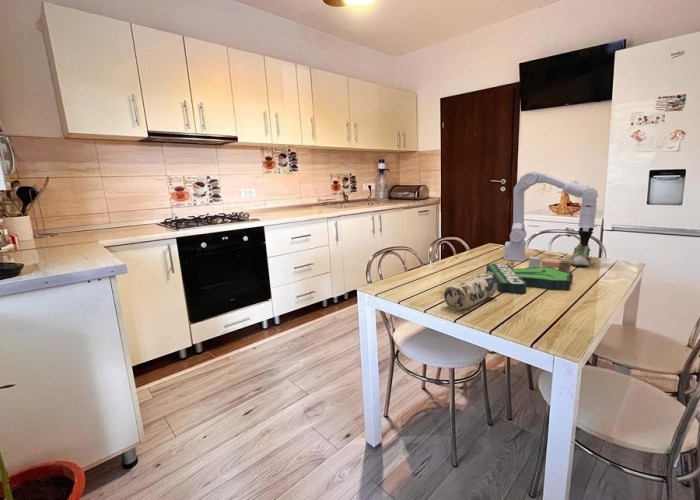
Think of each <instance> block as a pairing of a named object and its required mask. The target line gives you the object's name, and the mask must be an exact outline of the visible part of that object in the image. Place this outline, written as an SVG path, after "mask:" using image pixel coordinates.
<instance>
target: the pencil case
mask: <svg viewBox="0 0 700 500" xmlns="http://www.w3.org/2000/svg"><path fill="white" fill-rule="evenodd" d="M497 291H498V289H497V282H496V280H495V279H494V278H493V273H492V272H489V271H488V272H487V273H479V274H477V276H476V277H474V278H471V279H468V280H464V281H462V282H460V283H458V284H452V285H449V286H447V287H446V288H445V289H444V291H443V298H444V302H445V304H446V305H447V306H448V307H449V308H450V309H452V310H454V311H455V310H456V311H459V310H460V311H461V310H464V309H465V310H466V309H468V308H471V307H473V306H474V305H476V304H478V303H480V302H482V301H483V300H484V301H485V300H486V299H488V298H489V297H493V296H494V295H495V294H496V292H497Z"/></svg>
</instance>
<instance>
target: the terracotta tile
mask: <svg viewBox="0 0 700 500" xmlns="http://www.w3.org/2000/svg"><path fill="white" fill-rule="evenodd" d="M560 260H562V259H559V258H551V257H550V258H549V257H543V259H542V261H541V267H552V268H555V269H559V262H560Z"/></svg>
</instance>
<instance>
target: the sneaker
mask: <svg viewBox="0 0 700 500" xmlns="http://www.w3.org/2000/svg"><path fill="white" fill-rule="evenodd" d="M590 252H591V249H590V245H589V244H588V245H587V246H581V241H579V243H578V244H577V246H576V247H575V248H574V250H573V253H572V255H571V257H570V259H569V261H571V265H572V266H583V267H587V266H588V267H589V265H590V260H589V257H590Z"/></svg>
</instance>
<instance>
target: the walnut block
mask: <svg viewBox="0 0 700 500" xmlns="http://www.w3.org/2000/svg"><path fill="white" fill-rule="evenodd" d="M558 270H560V271H563V272H567V273H571V261H570V260H562V259H561V260H560V262H559V268H558Z"/></svg>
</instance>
